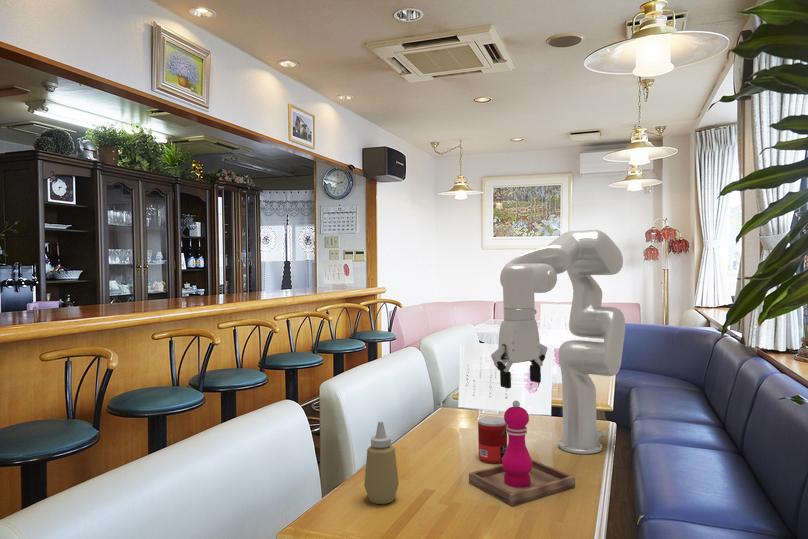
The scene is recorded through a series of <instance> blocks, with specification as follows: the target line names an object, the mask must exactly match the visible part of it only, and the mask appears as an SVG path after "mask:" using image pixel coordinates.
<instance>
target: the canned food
mask: <svg viewBox="0 0 808 539" xmlns="http://www.w3.org/2000/svg"><path fill="white" fill-rule="evenodd" d="M507 426H508V425H507V424H506V423H505V421H504V417H498V416H484V417H482V416H481V417H480V418H478V422H477V433H478V434H477V437H478V438H477V440H478V445H477V446H478V458H479V460H480V461H481V462H483V463H485V462H486V463H485V464H490V463H494V464H493V465H496V464H495V463H500V464H502V460H503V456H504V454H505V452H506V449H507V447H508V433H507V432H506V430H507V429H506V427H507Z"/></svg>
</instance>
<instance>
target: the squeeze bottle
mask: <svg viewBox="0 0 808 539" xmlns="http://www.w3.org/2000/svg"><path fill="white" fill-rule="evenodd" d="M375 432H376V433H375V435H374V436H372V437H371V438H370V446H368V448H367V449H366V450H367V451H366V461H365V463H366V464H365V474H364V484H363V486H364V489H365V492H366V494H367V498H368V501H369V502H371V503H372V504H377V505H386V504H390V503H391V502H393V501H395V498H396V494H397V491H398V489H399V484H400V483H399V474H398V466H397V457H396V448H395V447H394V446H393V445H392V442H391V440H392V438H391V436H390V435H387V434H386V429H385V424H384V422H383V421H378V422H377V426H376V430H375Z"/></svg>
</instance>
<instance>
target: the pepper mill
mask: <svg viewBox="0 0 808 539" xmlns="http://www.w3.org/2000/svg"><path fill="white" fill-rule="evenodd" d="M520 405H521V403H520V401H519V400H513V402H512V406H510V407H508V408H506V410H505V411H504V415H503V419H504V421H505V423H506V424H507V427H506V429H507V430H506V432H507V449H506V452H505V454H504V456H503V460H502V463H501V465H502V467H503V469H504V470H505V471H506V473H505V474H504V482H505V483H506V484H507V485H509V486H513V487H525V486H528V485H529V484H530V475H529V474H528V473H529V472H530V471H531V469H532V461H531V459H532V458H531V456H530V453H529V451H528V448H527V445H526V435H527V434H528V431H527V430H528V427H527V425H528V424H529V420H530V416H529V413H528V411H527V410H526V409H525V408H524V407H521V406H520Z"/></svg>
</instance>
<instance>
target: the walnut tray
mask: <svg viewBox="0 0 808 539" xmlns="http://www.w3.org/2000/svg"><path fill="white" fill-rule="evenodd" d="M531 461H532V469H531V471H530V472H529V473H528V474H529V475H530V484H529V485H528V486H525V487H513V486H509V485H507V484H506V483H505V482H504V474H505V473H506V471H505V470H504V469H503V467H502V464H500V465H499V464H498V465H496V466H491V467H487V468H483V469H480V470H476V471H472V472H468V484H469V485H471V486H473V487H474V488H477V489H479V490H480V491H483V492H485V493H486V494H488V495H490V496H492V497H494V498H495V499H497V498H498V500H500V501H501V502H503V503H505V504H507V505H509V506H511V507H515V506H518V505H522V504H524V503H525V502H526V503H528V501H529V502H532V501H535V500H539V499H541V498H545V497H548V495H549V496H552V495H554V494H559V493H561V492H565V491H568V490H572V489H574V487H575V488H576V477H575V476H573V475H571V474H569V473H565V472H563V471H562V470H558V469H556V468H553V467H551V466H549V465H546V464H544V463H541V462H539V461H537V460H534V459H532V458H531ZM571 488H572V489H571ZM526 503H525V504H526Z"/></svg>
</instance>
